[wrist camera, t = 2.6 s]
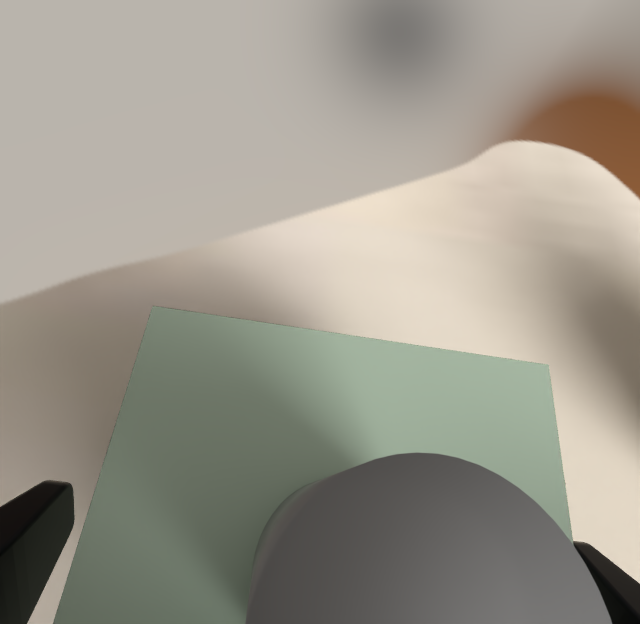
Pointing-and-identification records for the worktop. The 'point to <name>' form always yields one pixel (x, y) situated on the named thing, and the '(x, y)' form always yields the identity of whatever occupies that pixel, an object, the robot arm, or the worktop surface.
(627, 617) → the robot arm
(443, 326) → the worktop surface
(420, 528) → the cover
